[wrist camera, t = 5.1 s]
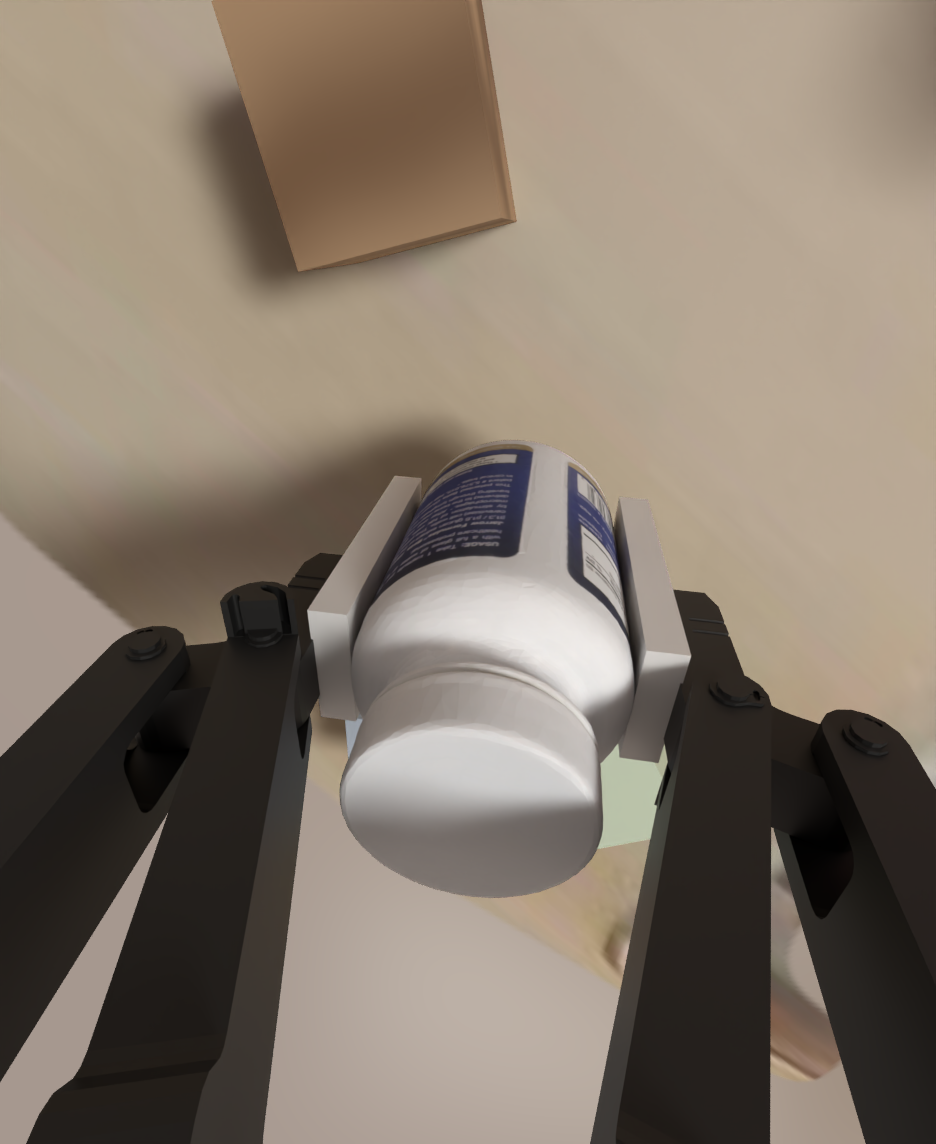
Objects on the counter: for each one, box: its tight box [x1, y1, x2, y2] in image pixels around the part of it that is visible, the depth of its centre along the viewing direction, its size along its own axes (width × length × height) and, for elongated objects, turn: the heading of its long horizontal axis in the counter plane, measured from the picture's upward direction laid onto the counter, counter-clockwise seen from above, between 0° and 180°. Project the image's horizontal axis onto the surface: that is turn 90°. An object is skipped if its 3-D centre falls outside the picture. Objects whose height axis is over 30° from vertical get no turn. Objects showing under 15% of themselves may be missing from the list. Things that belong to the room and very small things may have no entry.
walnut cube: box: [212, 0, 517, 272], centre depth 15 cm, size 5×5×5 cm
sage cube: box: [597, 744, 668, 849], centre depth 24 cm, size 5×5×5 cm
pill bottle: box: [340, 440, 634, 898], centre depth 13 cm, size 5×5×10 cm
